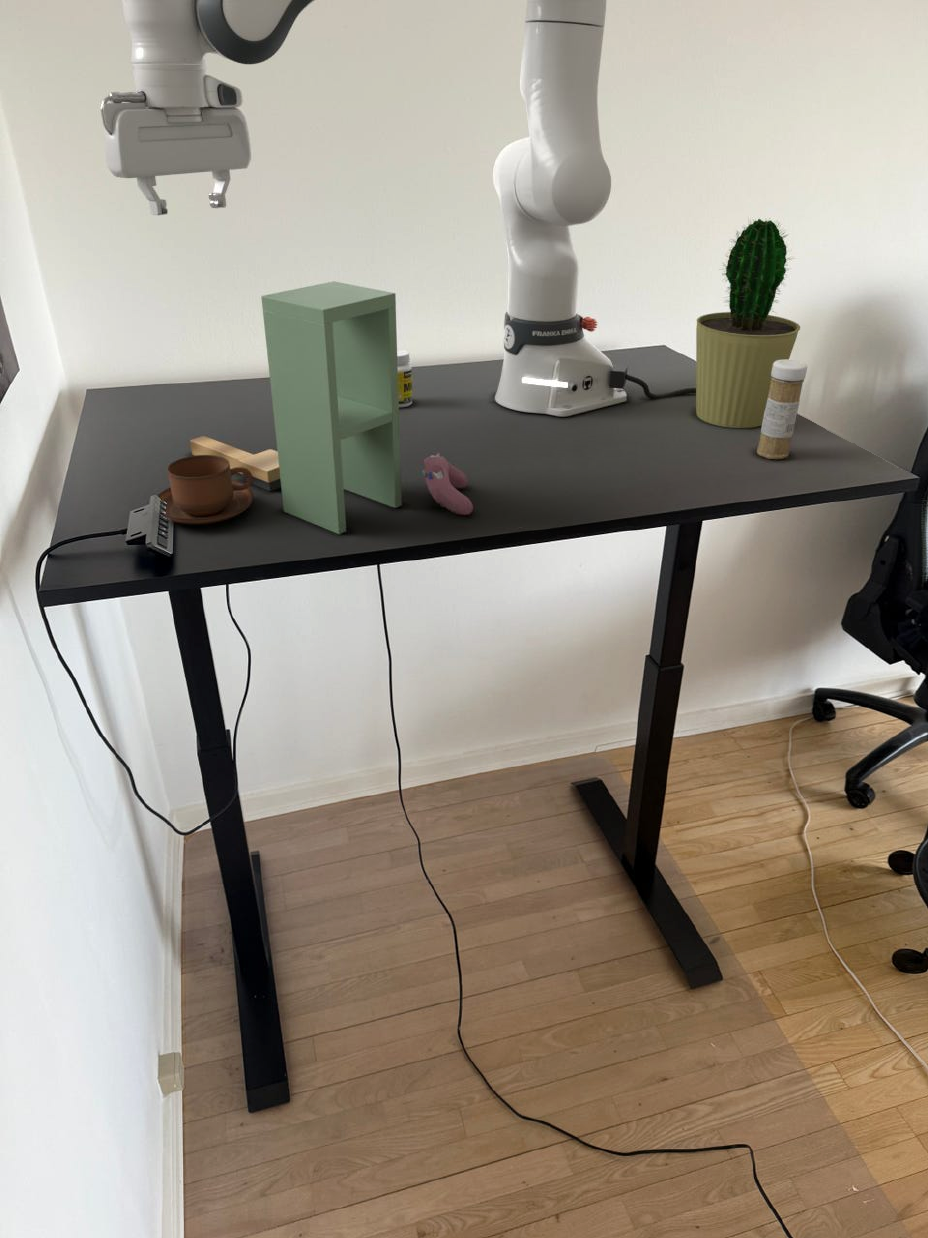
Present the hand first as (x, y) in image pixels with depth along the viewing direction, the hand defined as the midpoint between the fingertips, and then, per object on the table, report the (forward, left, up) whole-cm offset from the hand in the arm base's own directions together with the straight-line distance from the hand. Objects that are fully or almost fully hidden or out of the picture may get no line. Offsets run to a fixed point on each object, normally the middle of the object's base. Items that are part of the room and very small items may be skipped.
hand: (189, 210), depth 119 cm
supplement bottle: (-30, -2, -31) cm, 43 cm away
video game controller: (-21, +38, -31) cm, 53 cm away
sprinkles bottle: (-71, +42, -31) cm, 88 cm away
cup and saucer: (+8, +28, -31) cm, 43 cm away
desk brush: (+1, +16, -31) cm, 35 cm away
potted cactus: (-77, +26, -31) cm, 87 cm away
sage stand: (-8, +34, -31) cm, 47 cm away
